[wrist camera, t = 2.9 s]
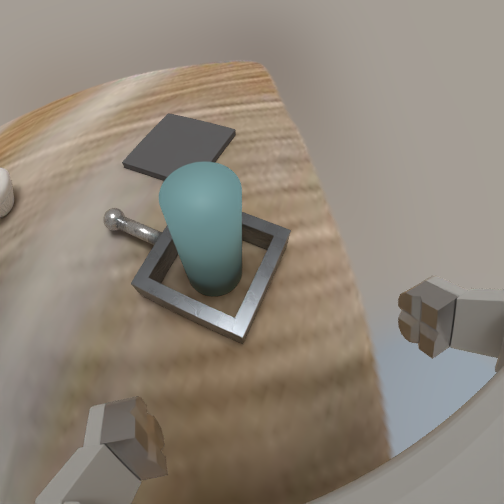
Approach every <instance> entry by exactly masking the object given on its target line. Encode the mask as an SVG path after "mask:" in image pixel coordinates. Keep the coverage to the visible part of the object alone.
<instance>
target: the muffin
mask: <svg viewBox="0 0 504 504" xmlns="http://www.w3.org/2000/svg"><path fill="white" fill-rule="evenodd" d="M13 204H14V194H13V186H12V180H11V179H10V174H9V172H8V171H7V170H6V169H4V168H0V217H3V216H5V215H7V213H8V212H9V211H10V210H11V208H12V206H13Z"/></svg>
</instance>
